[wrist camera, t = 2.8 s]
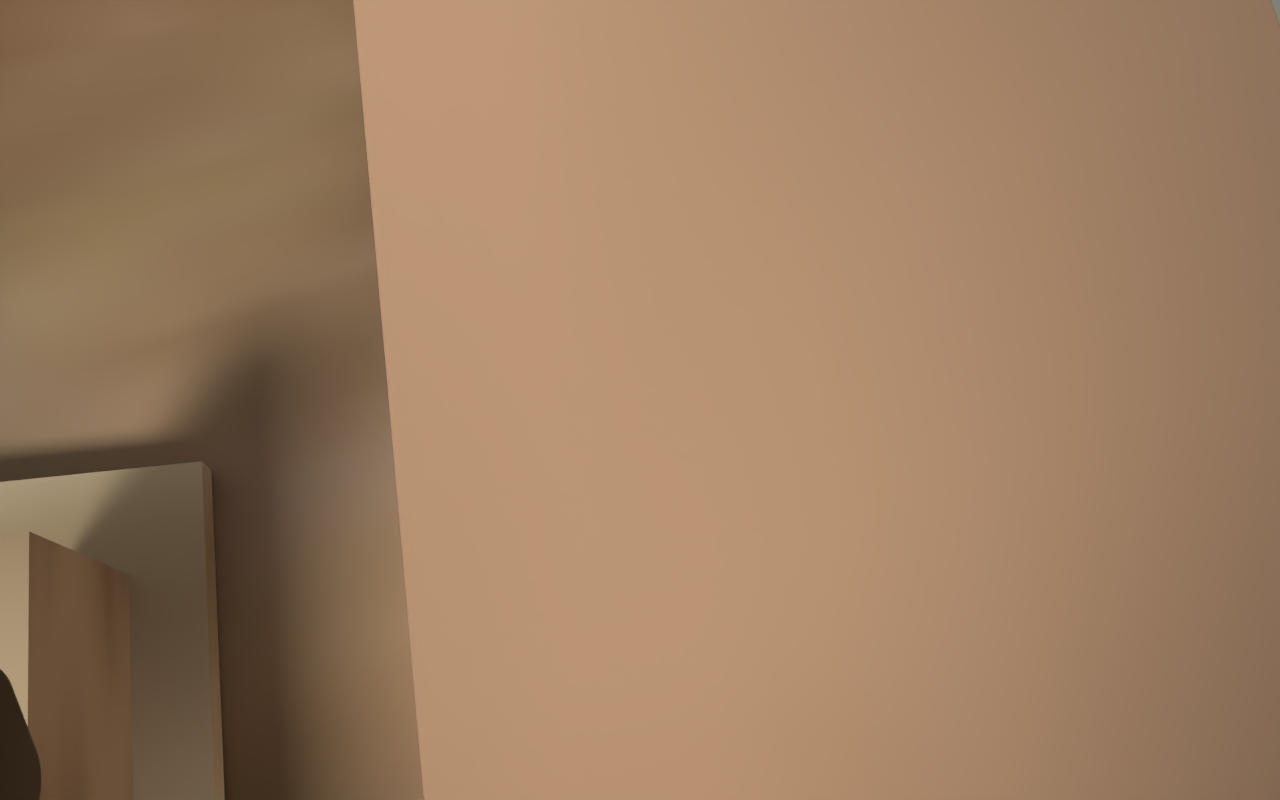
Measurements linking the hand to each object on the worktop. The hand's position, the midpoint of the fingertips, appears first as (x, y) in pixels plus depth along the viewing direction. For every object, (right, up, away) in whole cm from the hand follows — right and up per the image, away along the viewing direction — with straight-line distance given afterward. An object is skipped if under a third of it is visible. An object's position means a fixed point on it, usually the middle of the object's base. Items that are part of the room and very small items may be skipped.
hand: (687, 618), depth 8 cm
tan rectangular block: (-1, -2, +8) cm, 9 cm away
